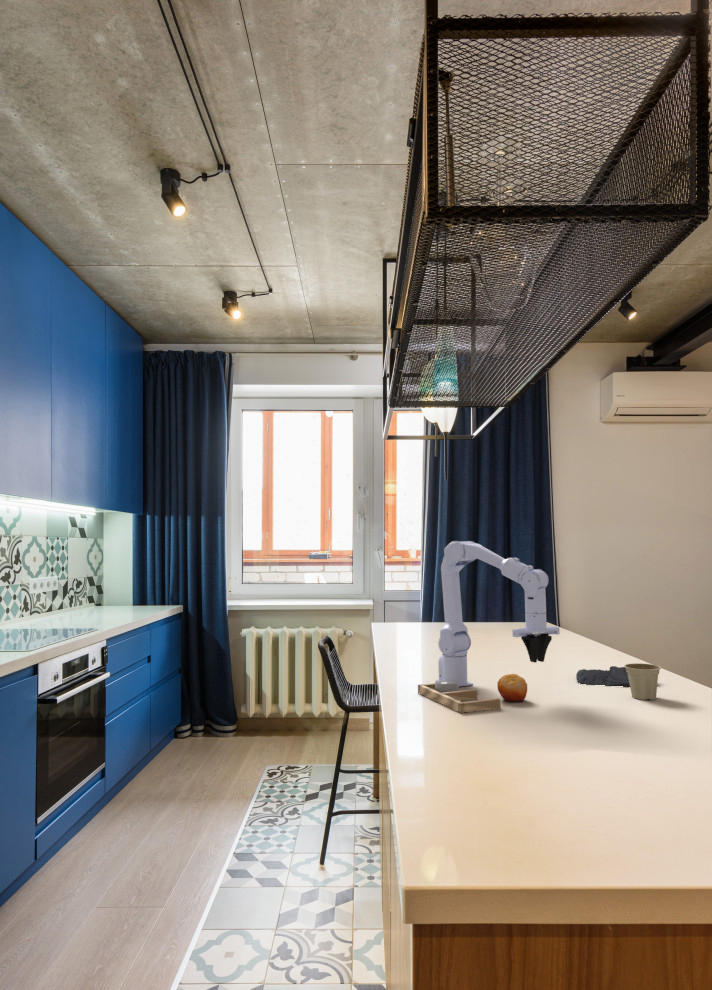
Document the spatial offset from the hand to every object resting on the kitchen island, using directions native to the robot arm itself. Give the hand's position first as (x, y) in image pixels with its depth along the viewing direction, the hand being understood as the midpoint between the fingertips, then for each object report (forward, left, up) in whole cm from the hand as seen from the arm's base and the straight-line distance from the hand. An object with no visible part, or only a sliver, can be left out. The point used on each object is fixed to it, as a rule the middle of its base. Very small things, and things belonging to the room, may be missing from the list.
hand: (537, 661), depth 184 cm
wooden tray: (-6, -23, -10) cm, 25 cm away
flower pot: (+12, +26, -10) cm, 31 cm away
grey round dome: (-12, -23, -10) cm, 27 cm away
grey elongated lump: (-8, +34, -11) cm, 37 cm away
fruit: (0, -9, -10) cm, 13 cm away
